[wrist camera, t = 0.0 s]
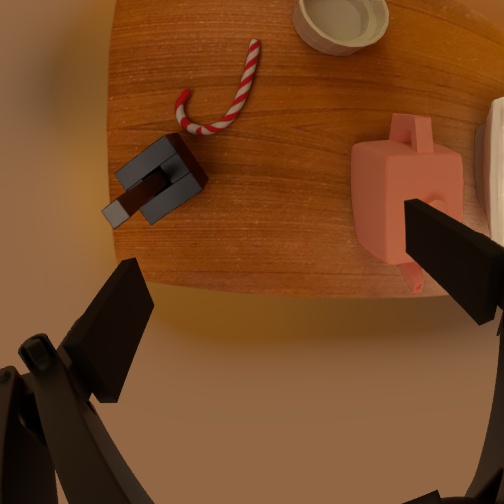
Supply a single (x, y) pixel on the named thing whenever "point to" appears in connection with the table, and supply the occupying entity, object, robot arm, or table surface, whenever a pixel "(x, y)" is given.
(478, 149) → the bowl
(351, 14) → the mixing bowl
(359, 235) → the teapot
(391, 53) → the table surface
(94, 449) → the robot arm
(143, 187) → the stick
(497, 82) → the table surface
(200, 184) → the stick stand
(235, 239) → the table surface
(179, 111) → the candy cane
